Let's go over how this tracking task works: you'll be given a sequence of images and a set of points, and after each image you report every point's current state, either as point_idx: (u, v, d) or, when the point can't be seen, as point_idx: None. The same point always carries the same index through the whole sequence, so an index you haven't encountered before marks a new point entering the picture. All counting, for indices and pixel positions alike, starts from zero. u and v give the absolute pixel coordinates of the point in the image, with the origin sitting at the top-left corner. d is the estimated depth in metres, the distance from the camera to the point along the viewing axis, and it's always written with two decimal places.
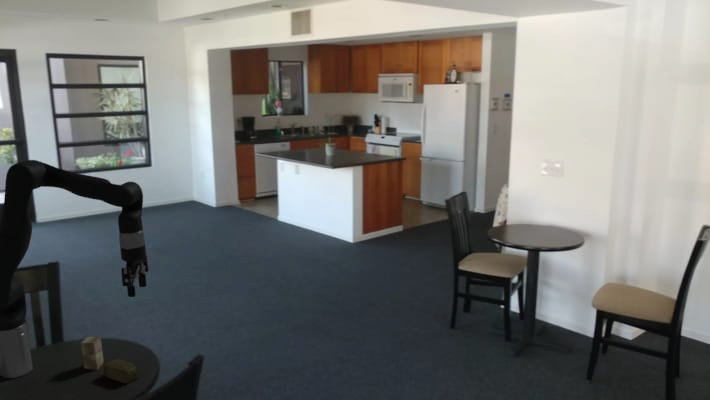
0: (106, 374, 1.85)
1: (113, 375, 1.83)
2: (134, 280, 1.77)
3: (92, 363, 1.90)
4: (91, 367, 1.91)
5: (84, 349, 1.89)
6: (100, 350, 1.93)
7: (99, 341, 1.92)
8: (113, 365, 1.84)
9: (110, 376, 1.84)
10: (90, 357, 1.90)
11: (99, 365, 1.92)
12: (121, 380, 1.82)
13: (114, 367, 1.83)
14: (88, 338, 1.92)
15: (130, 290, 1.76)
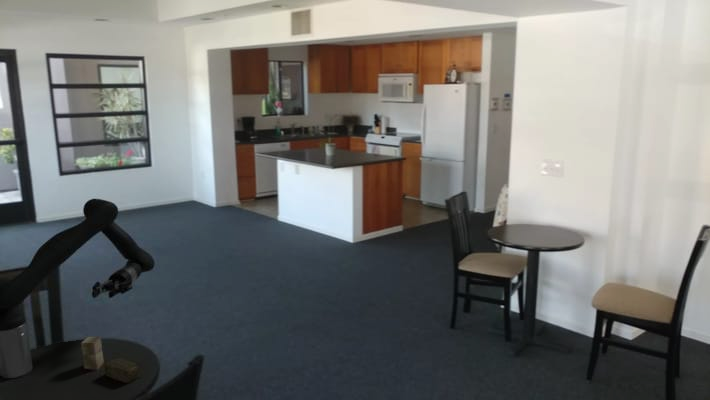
0: (107, 373, 1.85)
1: (114, 374, 1.84)
2: None
3: (92, 363, 1.90)
4: (91, 367, 1.91)
5: (84, 349, 1.89)
6: (100, 350, 1.93)
7: (99, 341, 1.92)
8: (114, 365, 1.84)
9: (111, 375, 1.84)
10: (90, 357, 1.90)
11: (99, 365, 1.92)
12: (122, 379, 1.82)
13: (115, 366, 1.83)
14: (88, 338, 1.92)
15: (115, 293, 2.01)
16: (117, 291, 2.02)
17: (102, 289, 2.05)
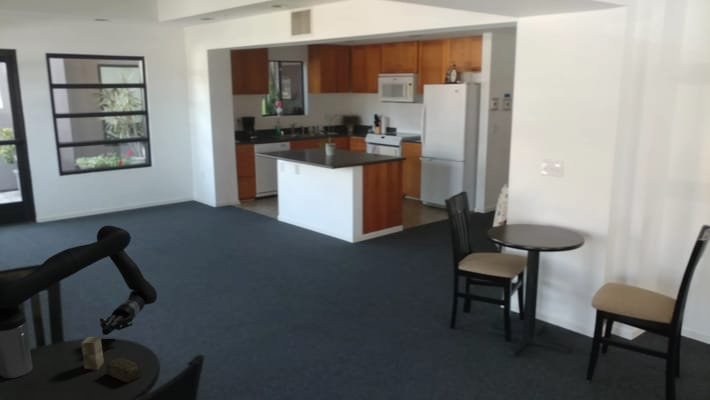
0: (109, 372, 1.86)
1: (115, 373, 1.84)
2: None
3: (92, 363, 1.90)
4: (91, 367, 1.91)
5: (84, 349, 1.89)
6: (100, 350, 1.93)
7: (99, 341, 1.92)
8: (115, 364, 1.85)
9: (112, 374, 1.85)
10: (90, 357, 1.90)
11: (99, 365, 1.92)
12: (122, 379, 1.82)
13: (116, 366, 1.84)
14: (88, 338, 1.92)
15: (111, 330, 2.03)
16: (113, 328, 2.04)
17: None
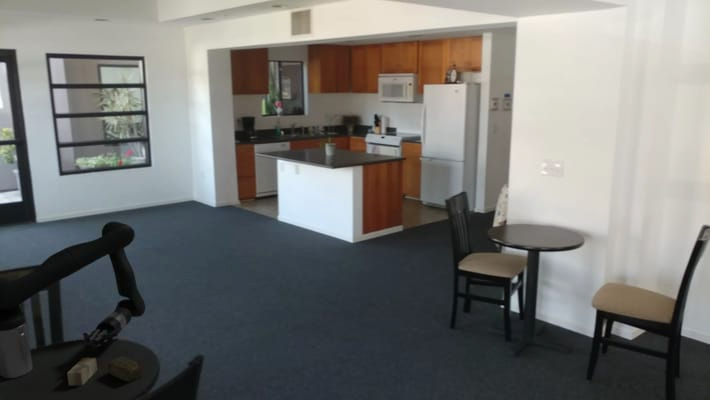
0: (110, 371, 1.86)
1: (116, 373, 1.84)
2: None
3: None
4: None
5: None
6: (88, 368, 1.85)
7: (83, 374, 1.82)
8: (117, 363, 1.85)
9: (114, 374, 1.85)
10: None
11: (95, 366, 1.90)
12: (123, 378, 1.83)
13: (117, 365, 1.84)
14: (70, 377, 1.81)
15: (95, 345, 1.91)
16: (97, 343, 1.93)
17: None
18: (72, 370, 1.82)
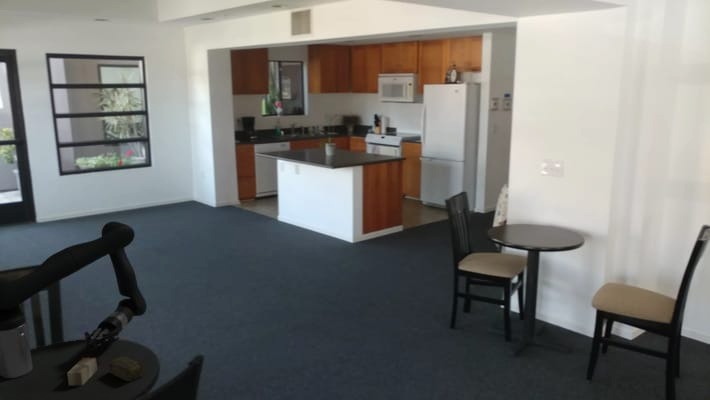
0: (111, 371, 1.87)
1: (117, 372, 1.85)
2: None
3: None
4: None
5: None
6: (88, 368, 1.85)
7: (83, 374, 1.82)
8: (117, 363, 1.85)
9: (115, 373, 1.86)
10: None
11: (95, 366, 1.90)
12: (124, 378, 1.83)
13: (118, 364, 1.84)
14: (70, 377, 1.81)
15: (96, 344, 1.92)
16: (98, 342, 1.93)
17: (95, 339, 1.96)
18: (72, 370, 1.82)
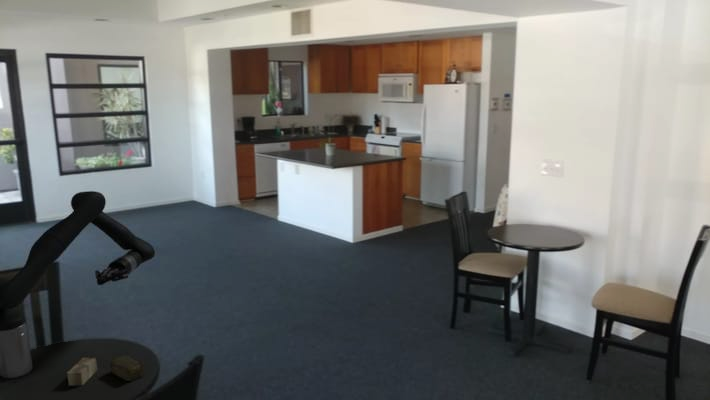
0: (112, 370, 1.87)
1: (118, 372, 1.85)
2: None
3: None
4: None
5: None
6: (88, 368, 1.85)
7: (83, 374, 1.82)
8: (119, 362, 1.86)
9: (116, 373, 1.86)
10: None
11: (95, 366, 1.90)
12: (125, 377, 1.83)
13: (119, 364, 1.85)
14: (70, 377, 1.81)
15: (106, 280, 1.99)
16: (108, 279, 2.00)
17: None
18: (72, 370, 1.82)
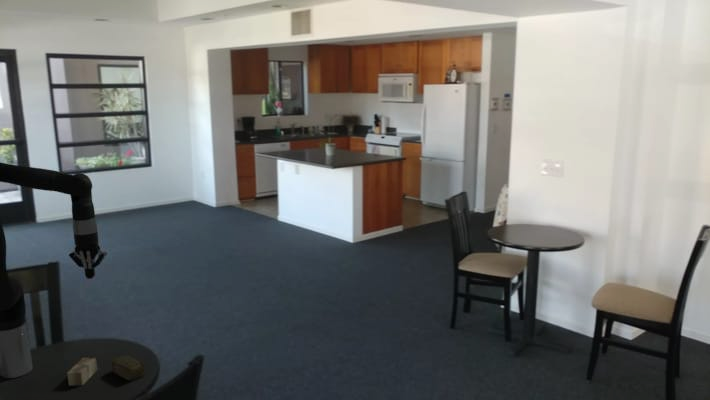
0: (114, 370, 1.88)
1: (119, 371, 1.85)
2: None
3: None
4: None
5: None
6: (88, 368, 1.85)
7: (83, 374, 1.82)
8: (120, 362, 1.86)
9: (117, 372, 1.87)
10: None
11: (95, 366, 1.90)
12: (125, 377, 1.83)
13: (120, 363, 1.85)
14: (70, 377, 1.81)
15: (93, 271, 1.97)
16: (93, 268, 1.96)
17: None
18: (72, 370, 1.82)
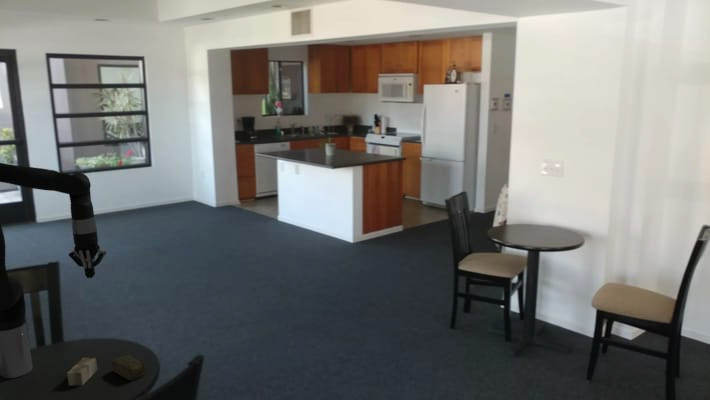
0: (114, 369, 1.88)
1: (120, 371, 1.86)
2: None
3: None
4: None
5: None
6: (88, 368, 1.85)
7: (83, 374, 1.82)
8: (120, 362, 1.86)
9: (117, 372, 1.87)
10: None
11: (96, 366, 1.90)
12: (126, 377, 1.84)
13: (121, 363, 1.85)
14: (70, 377, 1.81)
15: (93, 270, 1.96)
16: (93, 267, 1.96)
17: None
18: (72, 370, 1.82)
